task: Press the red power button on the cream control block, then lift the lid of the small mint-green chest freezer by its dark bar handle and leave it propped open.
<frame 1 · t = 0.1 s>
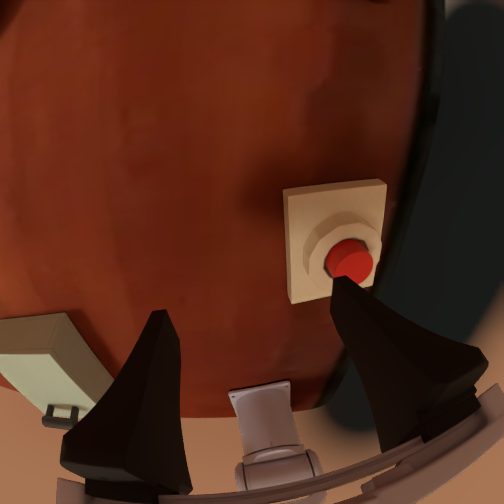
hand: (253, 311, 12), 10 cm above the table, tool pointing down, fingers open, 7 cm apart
freezer: (55, 353, 26), on the table
control block: (331, 239, 23), on the table
freezer lid: (44, 400, 20), point 6 cm above the table, hinge at 0.0°
power button: (349, 263, 20), point 4 cm above the table, slide at 0.1 cm
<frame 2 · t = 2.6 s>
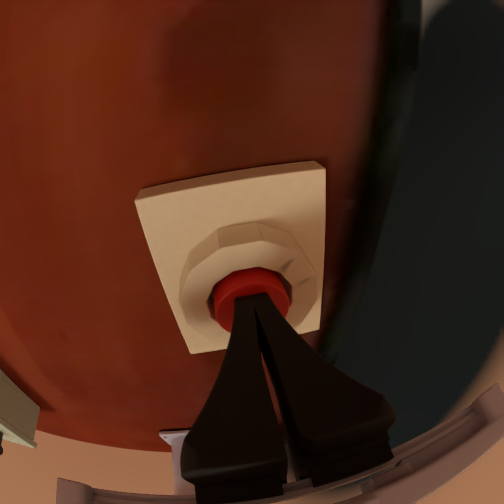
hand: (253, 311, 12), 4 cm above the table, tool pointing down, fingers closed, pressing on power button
control block: (241, 263, 15), on the table
power button: (250, 298, 13), point 3 cm above the table, slide at -0.6 cm, touching gripper
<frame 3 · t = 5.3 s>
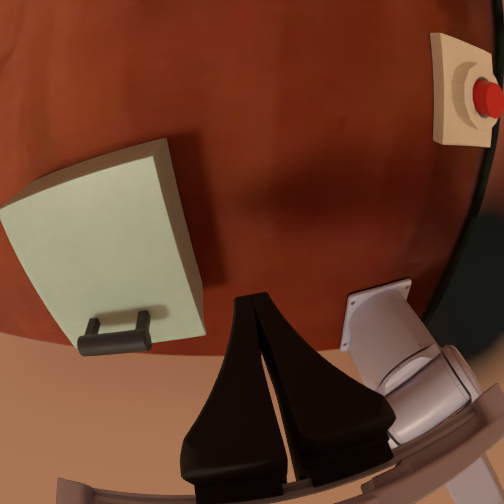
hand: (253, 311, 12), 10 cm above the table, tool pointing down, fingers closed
freezer: (115, 233, 20), on the table
control block: (461, 91, 17), on the table
freezer lid: (93, 291, 15), point 6 cm above the table, hinge at 0.0°
power button: (488, 98, 14), point 4 cm above the table, slide at 0.1 cm
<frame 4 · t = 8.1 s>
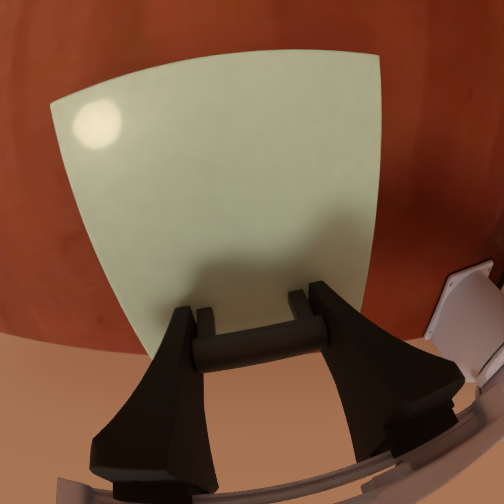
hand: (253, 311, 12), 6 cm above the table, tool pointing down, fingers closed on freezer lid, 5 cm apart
freezer lid: (245, 254, 9), point 6 cm above the table, hinge at 0.0°, touching gripper
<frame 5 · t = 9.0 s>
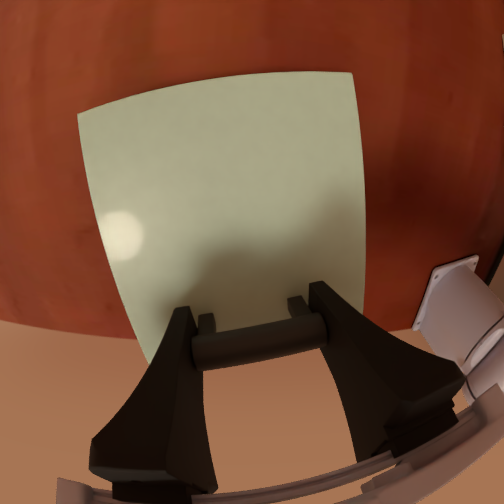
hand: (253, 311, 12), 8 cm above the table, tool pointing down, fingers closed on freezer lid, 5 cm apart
freezer lid: (242, 249, 10), point 8 cm above the table, hinge at 12.6°, touching gripper
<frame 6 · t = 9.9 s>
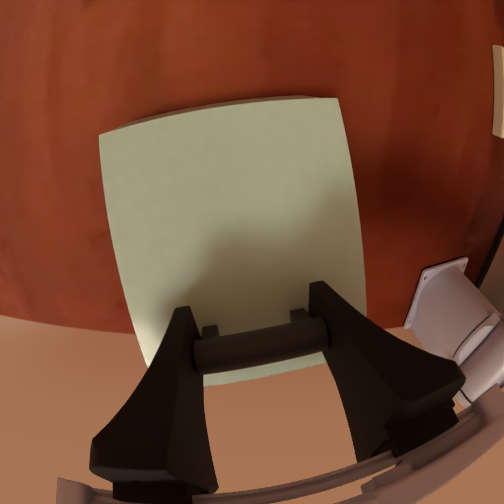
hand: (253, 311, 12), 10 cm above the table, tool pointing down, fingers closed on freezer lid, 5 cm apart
freezer: (227, 192, 19), on the table
freezer lid: (243, 255, 11), point 9 cm above the table, hinge at 24.8°, touching gripper
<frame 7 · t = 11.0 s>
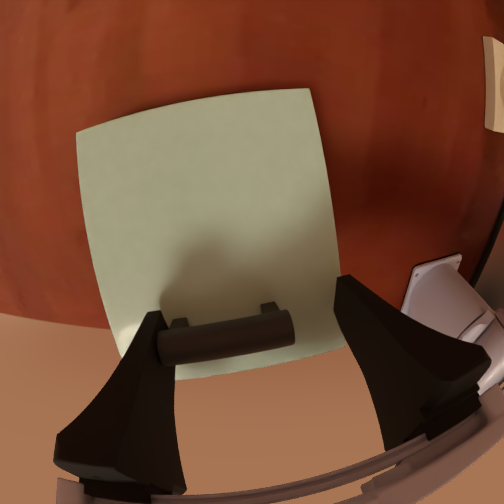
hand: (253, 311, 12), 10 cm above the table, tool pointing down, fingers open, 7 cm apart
control block: (503, 88, 16), on the table
freezer lid: (208, 246, 11), point 9 cm above the table, hinge at 24.9°, touching gripper
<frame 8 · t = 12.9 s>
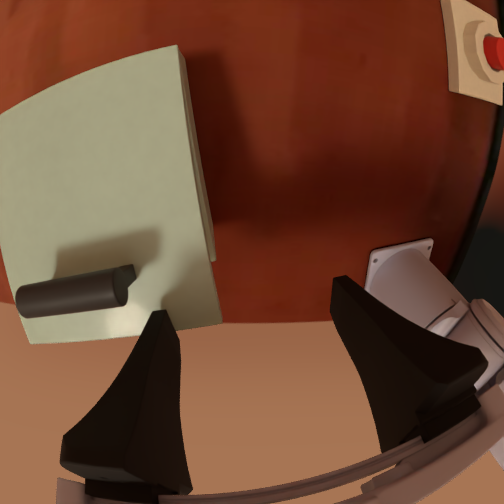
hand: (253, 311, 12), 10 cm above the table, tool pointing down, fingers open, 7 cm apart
freezer: (119, 164, 17), on the table
control block: (471, 50, 15), on the table
freezer lid: (61, 206, 9), point 9 cm above the table, hinge at 22.7°
power button: (498, 53, 12), point 4 cm above the table, slide at 0.1 cm
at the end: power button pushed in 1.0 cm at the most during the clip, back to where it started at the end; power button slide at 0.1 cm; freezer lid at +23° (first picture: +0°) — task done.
